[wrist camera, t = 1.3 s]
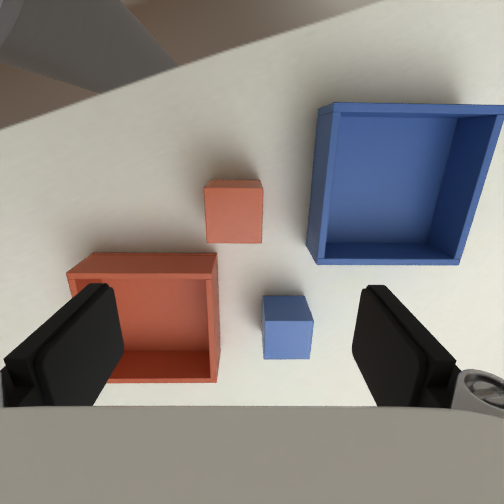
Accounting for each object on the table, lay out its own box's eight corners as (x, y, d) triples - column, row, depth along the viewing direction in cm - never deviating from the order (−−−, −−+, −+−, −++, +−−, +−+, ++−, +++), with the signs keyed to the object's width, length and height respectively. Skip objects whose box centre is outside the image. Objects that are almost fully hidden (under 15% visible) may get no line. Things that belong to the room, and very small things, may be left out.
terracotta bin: (93, 252, 28) (65, 272, 24) (217, 253, 28) (211, 273, 24) (113, 351, 32) (93, 383, 28) (220, 351, 33) (216, 382, 28)
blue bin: (317, 108, 24) (333, 102, 19) (461, 111, 24) (508, 104, 20) (305, 245, 28) (316, 265, 24) (426, 246, 28) (459, 265, 24)
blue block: (262, 295, 30) (265, 320, 26) (304, 295, 30) (314, 320, 26) (261, 330, 32) (263, 359, 28) (301, 330, 32) (309, 359, 28)
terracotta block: (210, 179, 26) (203, 187, 21) (260, 180, 26) (263, 187, 21) (212, 227, 27) (206, 243, 23) (259, 227, 27) (261, 243, 23)
